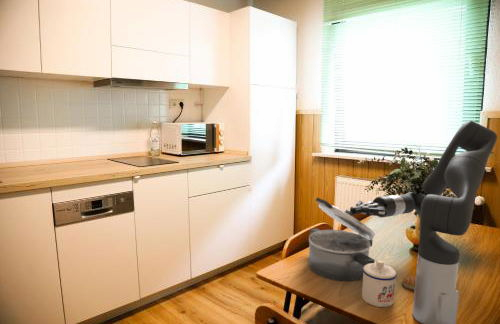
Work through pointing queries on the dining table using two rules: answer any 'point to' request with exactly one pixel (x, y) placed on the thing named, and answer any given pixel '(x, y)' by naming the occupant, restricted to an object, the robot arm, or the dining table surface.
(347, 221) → the cooker lid
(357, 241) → the cooker pot
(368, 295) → the teacup with lid
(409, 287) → the pastry
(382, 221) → the dining table surface
